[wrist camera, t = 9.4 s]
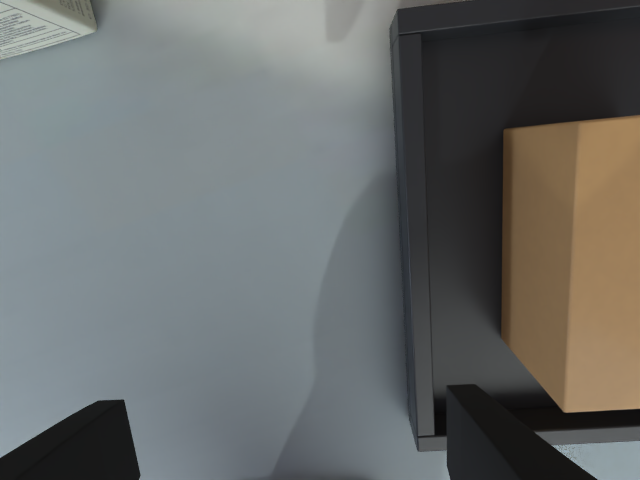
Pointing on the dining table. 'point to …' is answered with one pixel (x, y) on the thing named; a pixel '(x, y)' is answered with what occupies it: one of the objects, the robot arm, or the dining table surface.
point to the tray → (490, 184)
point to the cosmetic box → (42, 24)
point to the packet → (574, 259)
